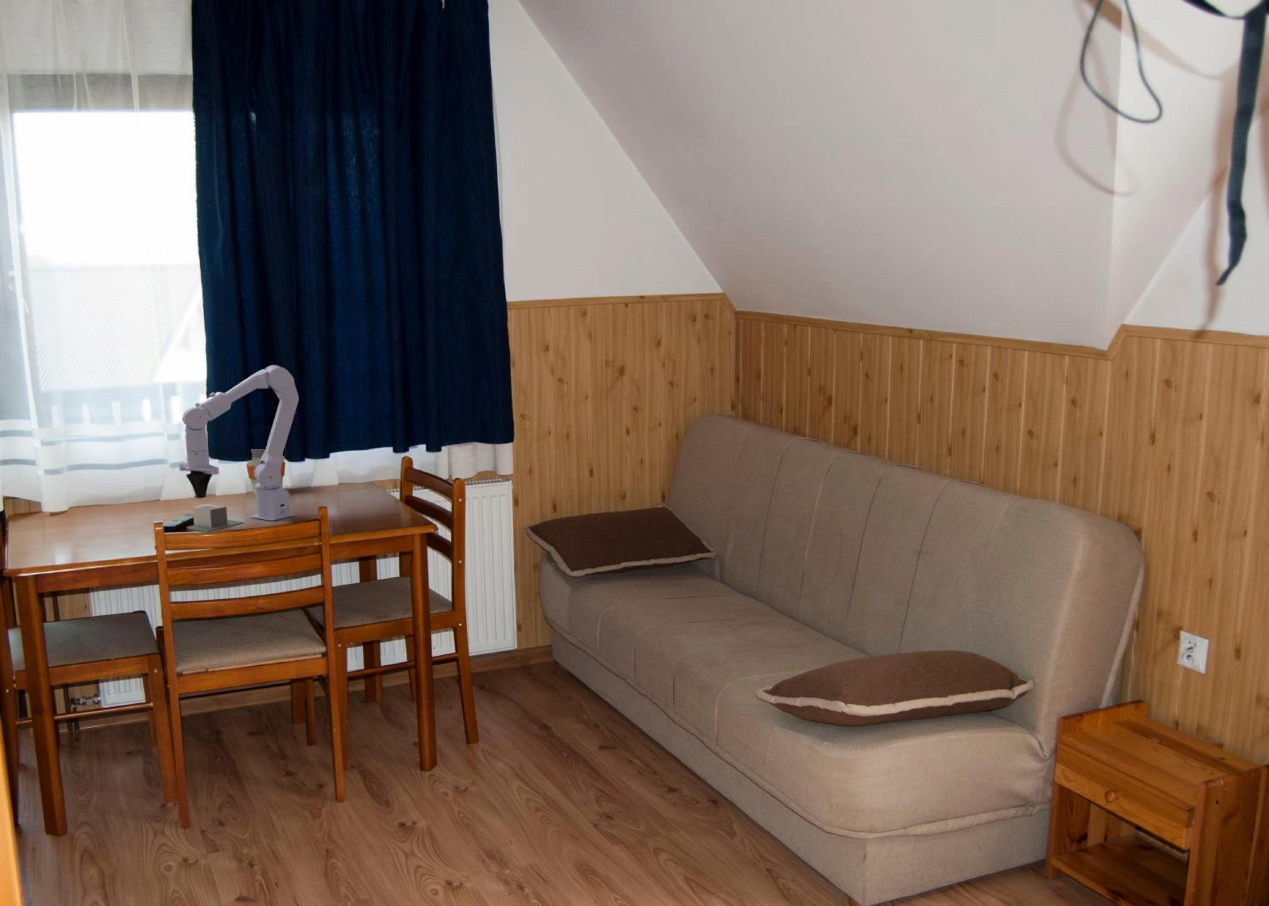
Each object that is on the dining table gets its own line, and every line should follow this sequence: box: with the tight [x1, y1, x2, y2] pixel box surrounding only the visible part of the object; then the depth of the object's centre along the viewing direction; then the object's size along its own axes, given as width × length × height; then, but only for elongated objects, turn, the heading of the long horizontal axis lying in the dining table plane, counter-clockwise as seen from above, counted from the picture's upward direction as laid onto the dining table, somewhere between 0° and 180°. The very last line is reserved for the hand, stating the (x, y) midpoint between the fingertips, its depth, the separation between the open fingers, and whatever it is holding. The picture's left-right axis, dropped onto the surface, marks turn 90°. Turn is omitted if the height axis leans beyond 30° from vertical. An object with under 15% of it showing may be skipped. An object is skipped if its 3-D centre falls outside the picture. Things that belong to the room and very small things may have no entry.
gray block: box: [192, 503, 228, 528], centre depth 328 cm, size 5×5×8 cm
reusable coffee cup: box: [246, 449, 286, 495], centre depth 374 cm, size 13×13×15 cm
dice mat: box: [186, 518, 245, 532], centre depth 327 cm, size 9×13×1 cm
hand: (201, 497), depth 329 cm, fingers closed
